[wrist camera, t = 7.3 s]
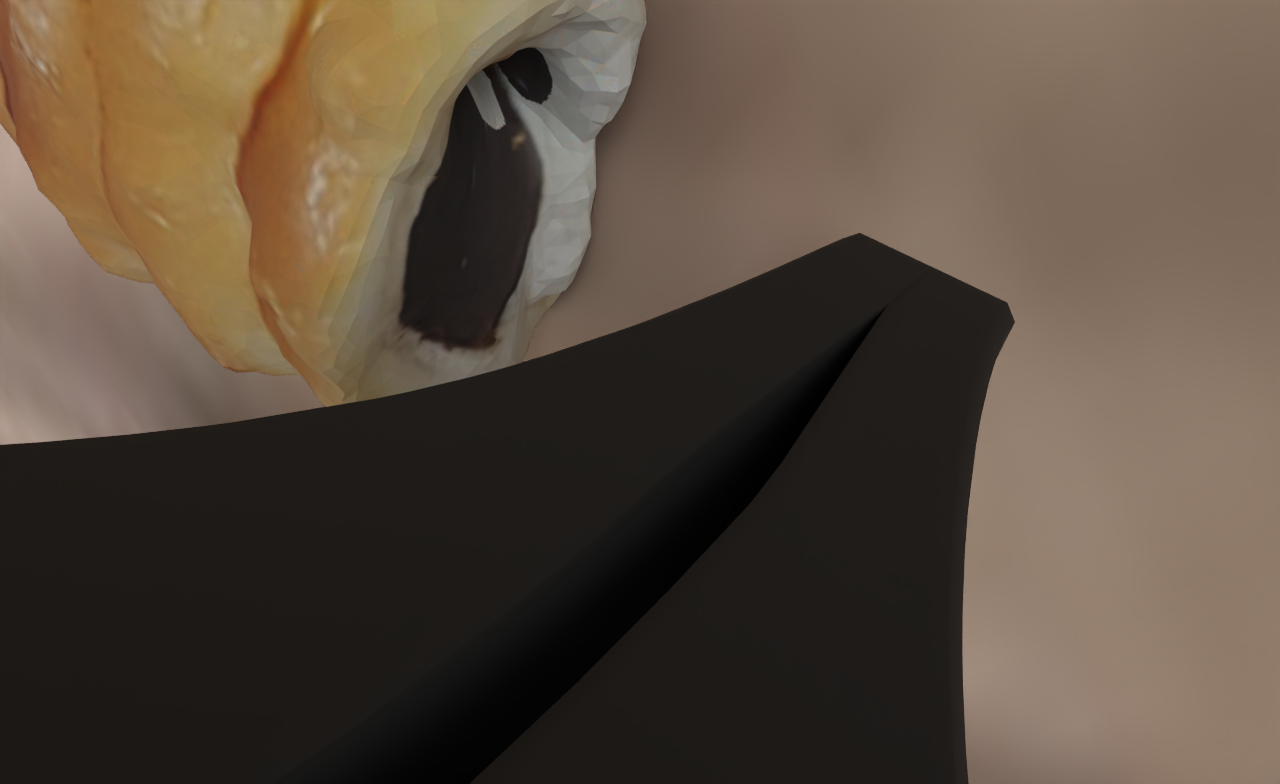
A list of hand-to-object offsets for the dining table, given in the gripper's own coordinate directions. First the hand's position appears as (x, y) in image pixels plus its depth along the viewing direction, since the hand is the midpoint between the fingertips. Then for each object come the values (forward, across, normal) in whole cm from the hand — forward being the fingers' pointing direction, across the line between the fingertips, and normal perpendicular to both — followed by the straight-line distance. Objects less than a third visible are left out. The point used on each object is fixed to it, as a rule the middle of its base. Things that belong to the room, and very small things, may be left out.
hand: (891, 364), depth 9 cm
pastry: (+2, +7, 0) cm, 7 cm away
